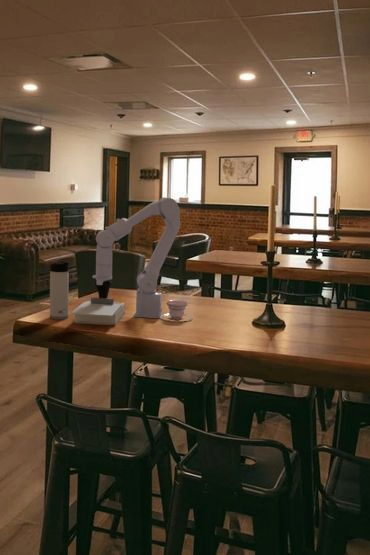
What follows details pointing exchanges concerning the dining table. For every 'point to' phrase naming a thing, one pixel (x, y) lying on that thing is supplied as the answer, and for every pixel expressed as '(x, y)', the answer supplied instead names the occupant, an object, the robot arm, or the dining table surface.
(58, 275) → the travel mug
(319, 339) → the dining table surface
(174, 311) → the teacup
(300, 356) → the dining table surface
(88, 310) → the lid
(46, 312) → the dining table surface
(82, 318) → the box
